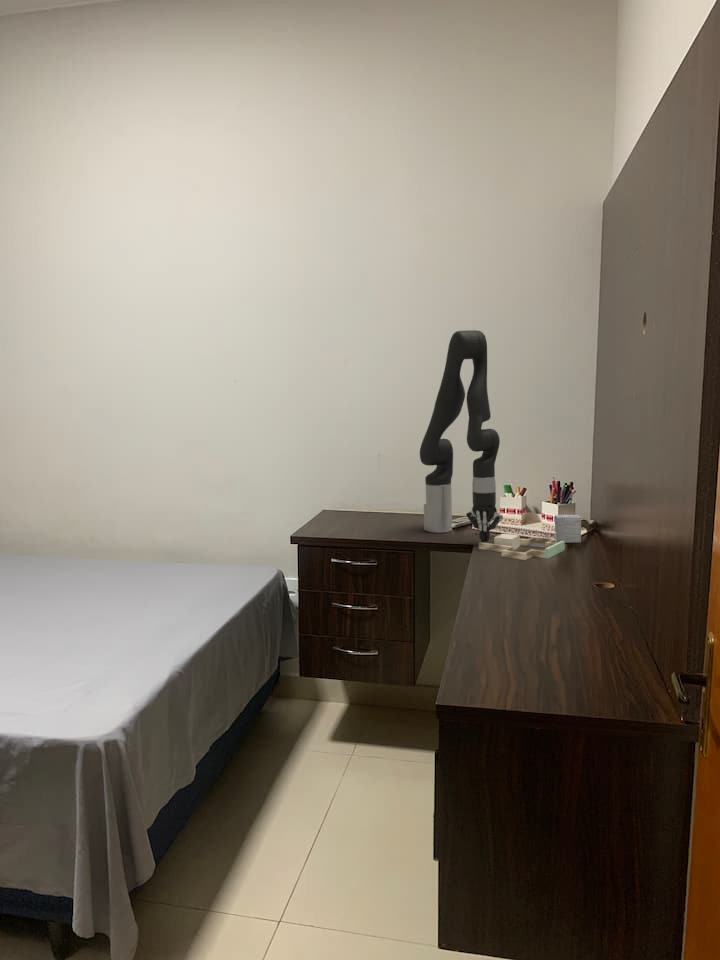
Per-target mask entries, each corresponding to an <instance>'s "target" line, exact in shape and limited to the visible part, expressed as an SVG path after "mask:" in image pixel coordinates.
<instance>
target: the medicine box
mask: <svg viewBox="0 0 720 960" xmlns="http://www.w3.org/2000/svg"><path fill="white" fill-rule="evenodd" d="M555 532H556V543H558V542H560V541H565V544H571V543H572V544H573V543H574V544H576V543H578V544H579V543H582V517H581V516H580V515H579V514H559V515H558V514H555V515H554V533H555Z"/></svg>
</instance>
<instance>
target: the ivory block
mask: <svg viewBox="0 0 720 960" xmlns="http://www.w3.org/2000/svg"><path fill="white" fill-rule="evenodd" d="M495 536H496V537H494V539H493V540H494V542H493V544H497V545H504V546H512V547H514V551H515V550H517V549H518V548H520V546H521V545H520V539H521V538H520V535H519V534H511V533H509V534H508V533H501V534H498V535H495Z"/></svg>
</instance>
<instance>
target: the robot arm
mask: <svg viewBox="0 0 720 960" xmlns="http://www.w3.org/2000/svg"><path fill="white" fill-rule="evenodd" d="M447 348H448V349H447V354H446V359H445V361H446V362H445V365H444V370H443V374H442V378H441V383H440V385H439V390H438V392H437V395H436V399H435V403H434V407H433V411H432V414H431V418H430V421H429V424H428V426H427V429H426V432H425V433H424V436H423V439H422V442H421V445H420V449H419V459H420V462H421V463H422V464H423V465H425V466H427V467H428V466H429V467H430V466H432V467H433V466H436V467H435V469H434V470H433V471H432V472H430V473H429V474H427V475H426V476H425V478H424V481H425V504H423V524H424V525H423V527H424V528H423V530H424V531H427V532H429V533H440V534H441V533H449V532H452V530H453V516H452V515H453V509H452V507H453V506H452V504H453V503H452V478H453V473H454V472H453V471H454V470H453V469H454V465H453V464H454V449H453V444H452V443H451V440H449V439H447V438H442V436H443V434H444V433H445V432H446V430H447V429H448V428H450V426H451V425H452V424H453V423H454V422H455V421H456V420H457V419H458V417H459V415H460V414H461V412H462V409H463V406H464V402H465V399H466V407H467V413H468V423H467V424H468V425H467V432H466V443H467V447H468V448H469V449H470V450H471V451H472V452H475V453H477V452H482V454H481V455H480V457H477V458H475V459H474V460H473V462H472V482H471V483H472V486H471V487H472V508H471V511H468V512H466V513H465V514H466V516H467V518H468V520H469V521H470V523H471V524H472V526H473V528H474V529H477V530H479V540H480V541H481V542H482V543H488V542H489V540H490V531H491V530H494V529H496V527H497V526H498V525H499V523H500V522H501V521H502V520H503V518H504V516H503V515H502V514H499V513H498V510H497V507H496V503H497V501H496V500H497V498H496V497H497V495H496V493H497V492H496V491H497V487H496V485H497V484H496V483H497V482H496V476H495V473H496V472H495V471H496V469H495V467H496V466H495V465H496V460H497V457H498V452H499V449H500V440H501V439H500V436H499V433H498V431H497V430H496V429H493V428H483V429H482V426H483V423H485V422H488V421H489V420H490V419H491V409H490V408H491V407H490V401H489V395H488V343H487V338H486V335H485V334H484V332H482V331H481V330H475V329H473V330H471V329H470V330H458V331H457V330H456V331H455V332H454V333H453V334H452V335H451V336H450V340H449V344H448V347H447ZM465 360H472V364H473V373H472V377H471V379H470V383H469V385H468V388H467V392H466V390H465V387H464V384H463V381H462V378H461V369H462V366H463V362H464V361H465Z"/></svg>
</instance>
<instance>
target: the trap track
mask: <svg viewBox="0 0 720 960" xmlns="http://www.w3.org/2000/svg"><path fill="white" fill-rule="evenodd" d="M496 536H497V535H495V537H496ZM565 544H566V543H565V541H560V542H558V543H557V542H556V539H555V538H548V537H542V536H536V535H535V536H530V537H529V538H520V546H523V547H529V548H530V547H531V548H539V549H540V550H539V549H529V550H527V551H525V552H521V551H515V550H514V547H512V546H504V545H497V544H494V543H488V542H478V549H479V550H484V551H491V552H496V553H497V552H499V553H501V557H502V558H506V559H507V558H508V559H515V560H520V561H526V560H528V559H531V558H533V557H535V558H540V559H546V560H548V559H550V558H552V557H555V556H556V555H558V554H560V553H562V552H564V551H565V547H566V546H565ZM541 549H544V550H541Z"/></svg>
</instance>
